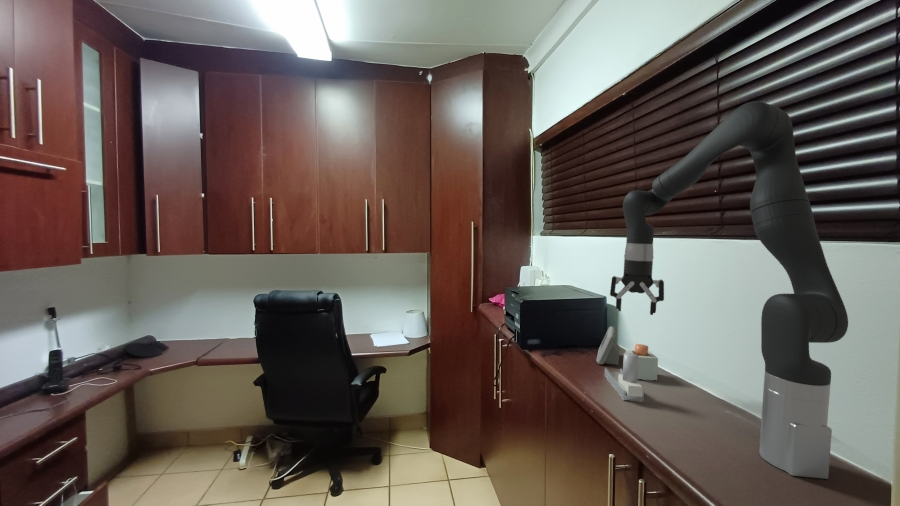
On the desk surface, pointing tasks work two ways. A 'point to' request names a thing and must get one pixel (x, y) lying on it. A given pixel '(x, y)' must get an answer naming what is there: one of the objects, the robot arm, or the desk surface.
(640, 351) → the button
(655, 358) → the button housing
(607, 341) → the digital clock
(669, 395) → the desk surface
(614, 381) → the rail
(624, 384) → the carriage
